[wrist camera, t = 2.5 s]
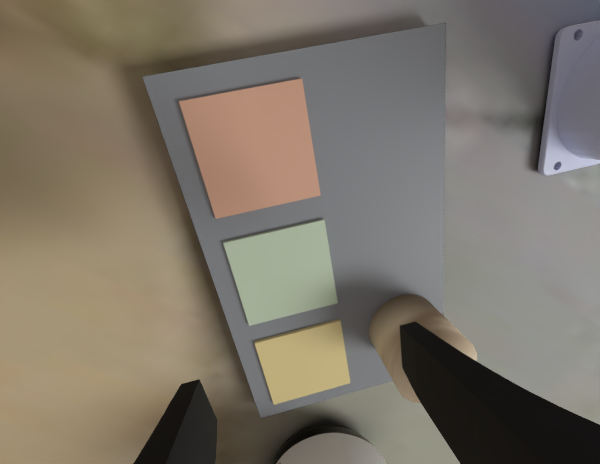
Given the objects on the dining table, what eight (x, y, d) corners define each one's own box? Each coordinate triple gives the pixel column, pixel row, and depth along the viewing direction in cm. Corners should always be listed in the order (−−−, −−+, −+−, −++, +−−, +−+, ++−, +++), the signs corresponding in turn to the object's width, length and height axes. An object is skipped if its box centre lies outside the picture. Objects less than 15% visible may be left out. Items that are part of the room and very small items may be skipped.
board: (430, 30, 15) (448, 21, 13) (433, 354, 23) (444, 368, 22) (151, 80, 13) (140, 76, 12) (260, 403, 22) (260, 421, 20)
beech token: (434, 286, 19) (479, 326, 15) (434, 342, 21) (474, 389, 17) (365, 304, 19) (394, 349, 15) (371, 359, 20) (398, 412, 17)
